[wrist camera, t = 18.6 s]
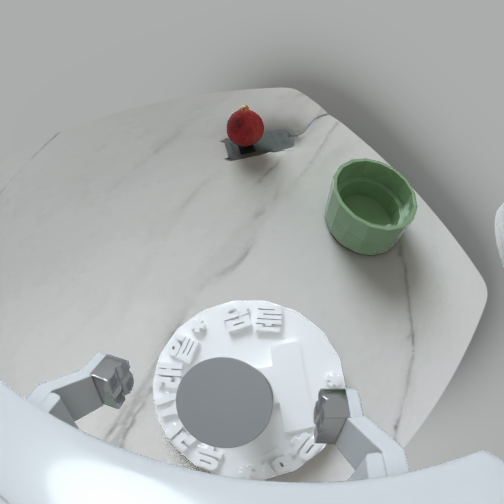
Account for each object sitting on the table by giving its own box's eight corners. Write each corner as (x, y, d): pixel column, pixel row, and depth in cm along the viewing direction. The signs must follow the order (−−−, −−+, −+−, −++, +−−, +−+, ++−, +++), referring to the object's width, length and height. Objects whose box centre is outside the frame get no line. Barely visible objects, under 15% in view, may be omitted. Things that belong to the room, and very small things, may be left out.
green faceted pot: (395, 197, 38) (410, 168, 32) (400, 262, 33) (422, 237, 27) (326, 184, 39) (333, 152, 33) (321, 249, 34) (331, 220, 28)
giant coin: (319, 484, 21) (324, 492, 18) (146, 447, 24) (135, 451, 21) (349, 318, 30) (357, 311, 27) (184, 291, 33) (177, 282, 30)
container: (281, 388, 24) (297, 393, 11) (251, 425, 23) (233, 468, 9) (242, 361, 26) (214, 334, 12) (213, 396, 24) (154, 406, 11)
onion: (249, 161, 42) (245, 121, 35) (222, 148, 44) (215, 110, 37) (271, 142, 44) (270, 103, 37) (244, 131, 46) (240, 93, 39)
